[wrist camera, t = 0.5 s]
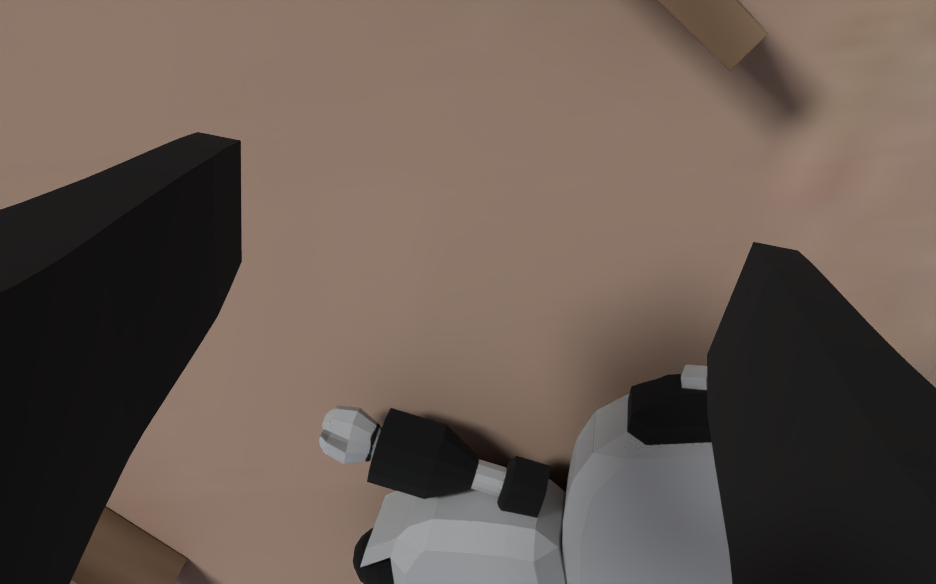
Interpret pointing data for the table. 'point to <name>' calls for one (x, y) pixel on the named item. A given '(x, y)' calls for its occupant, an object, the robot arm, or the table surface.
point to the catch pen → (157, 566)
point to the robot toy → (546, 498)
